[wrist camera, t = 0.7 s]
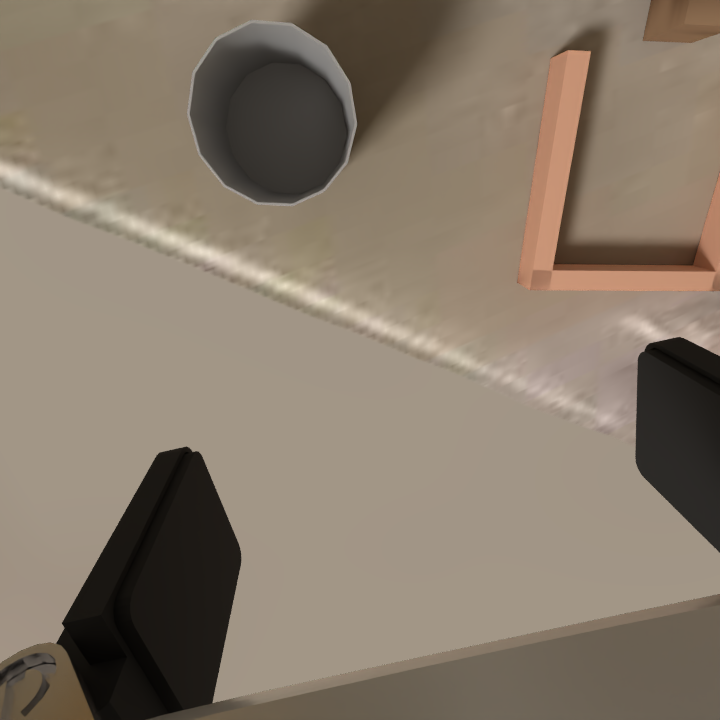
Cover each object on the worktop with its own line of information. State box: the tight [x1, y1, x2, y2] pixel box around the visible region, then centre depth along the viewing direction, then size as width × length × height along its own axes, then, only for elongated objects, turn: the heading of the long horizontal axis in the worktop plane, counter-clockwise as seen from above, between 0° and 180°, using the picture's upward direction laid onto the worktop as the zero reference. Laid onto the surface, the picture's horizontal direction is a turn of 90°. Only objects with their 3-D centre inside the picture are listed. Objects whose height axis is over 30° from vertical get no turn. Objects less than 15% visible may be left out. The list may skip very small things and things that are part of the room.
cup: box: [187, 20, 357, 206], centre depth 28 cm, size 8×8×10 cm
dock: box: [517, 50, 720, 291], centre depth 35 cm, size 16×16×2 cm
